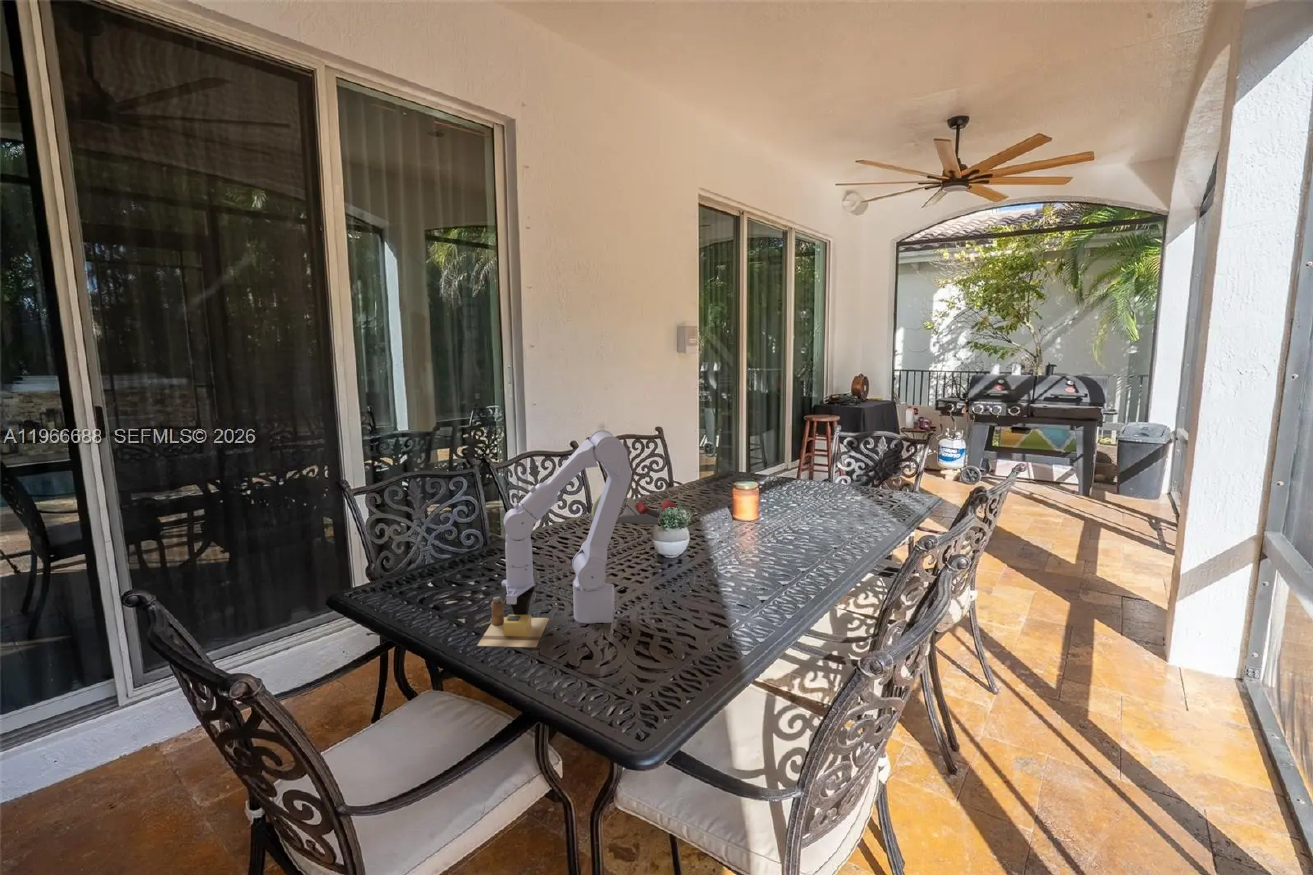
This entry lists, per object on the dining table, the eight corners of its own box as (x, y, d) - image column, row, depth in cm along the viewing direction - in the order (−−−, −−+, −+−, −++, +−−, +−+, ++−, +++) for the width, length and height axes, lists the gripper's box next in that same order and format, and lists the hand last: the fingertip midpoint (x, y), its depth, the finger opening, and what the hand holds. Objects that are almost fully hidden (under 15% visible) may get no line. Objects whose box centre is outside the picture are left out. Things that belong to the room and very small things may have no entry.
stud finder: (531, 627, 136) (531, 613, 135) (526, 636, 132) (526, 622, 131) (509, 627, 136) (508, 613, 136) (503, 635, 132) (503, 621, 132)
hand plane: (591, 516, 222) (590, 475, 219) (676, 519, 218) (677, 478, 215) (586, 522, 215) (586, 480, 212) (674, 525, 211) (675, 483, 208)
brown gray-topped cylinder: (505, 620, 139) (504, 595, 138) (502, 626, 137) (501, 600, 135) (494, 620, 139) (492, 595, 138) (490, 625, 137) (489, 600, 136)
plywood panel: (549, 622, 141) (549, 618, 140) (536, 652, 128) (536, 647, 128) (495, 621, 141) (495, 616, 141) (477, 651, 128) (476, 645, 128)
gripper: (510, 550, 142) (512, 605, 144) (490, 575, 128) (493, 636, 130) (540, 551, 142) (542, 606, 144) (524, 576, 127) (526, 636, 130)
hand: (521, 620), depth 137 cm, fingers closed
